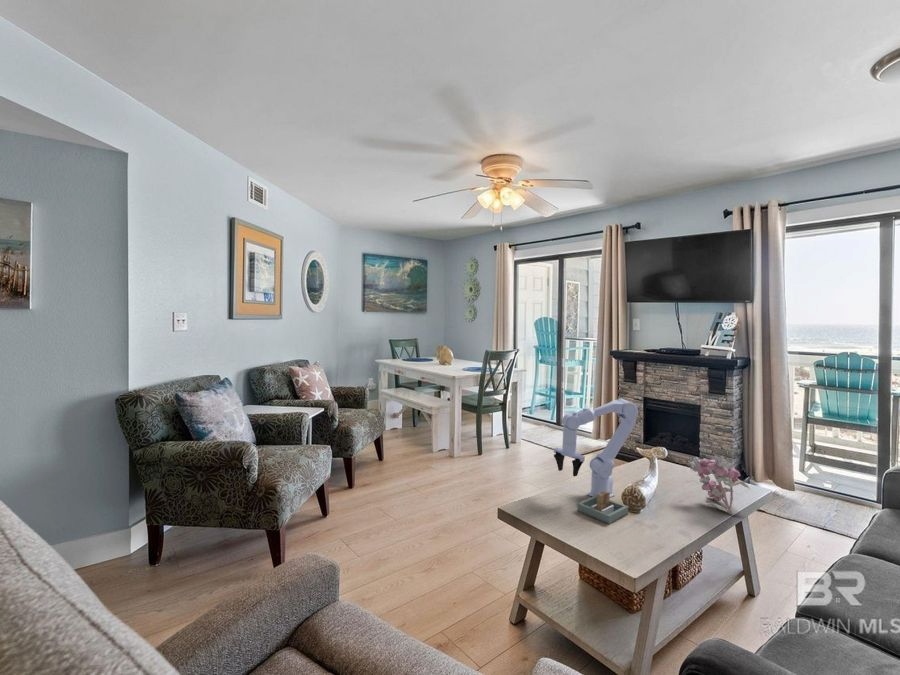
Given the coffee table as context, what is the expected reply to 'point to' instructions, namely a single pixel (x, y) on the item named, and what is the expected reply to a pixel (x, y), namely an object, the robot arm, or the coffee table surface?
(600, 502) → the wood block
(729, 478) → the flower
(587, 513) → the slotted divider tray
